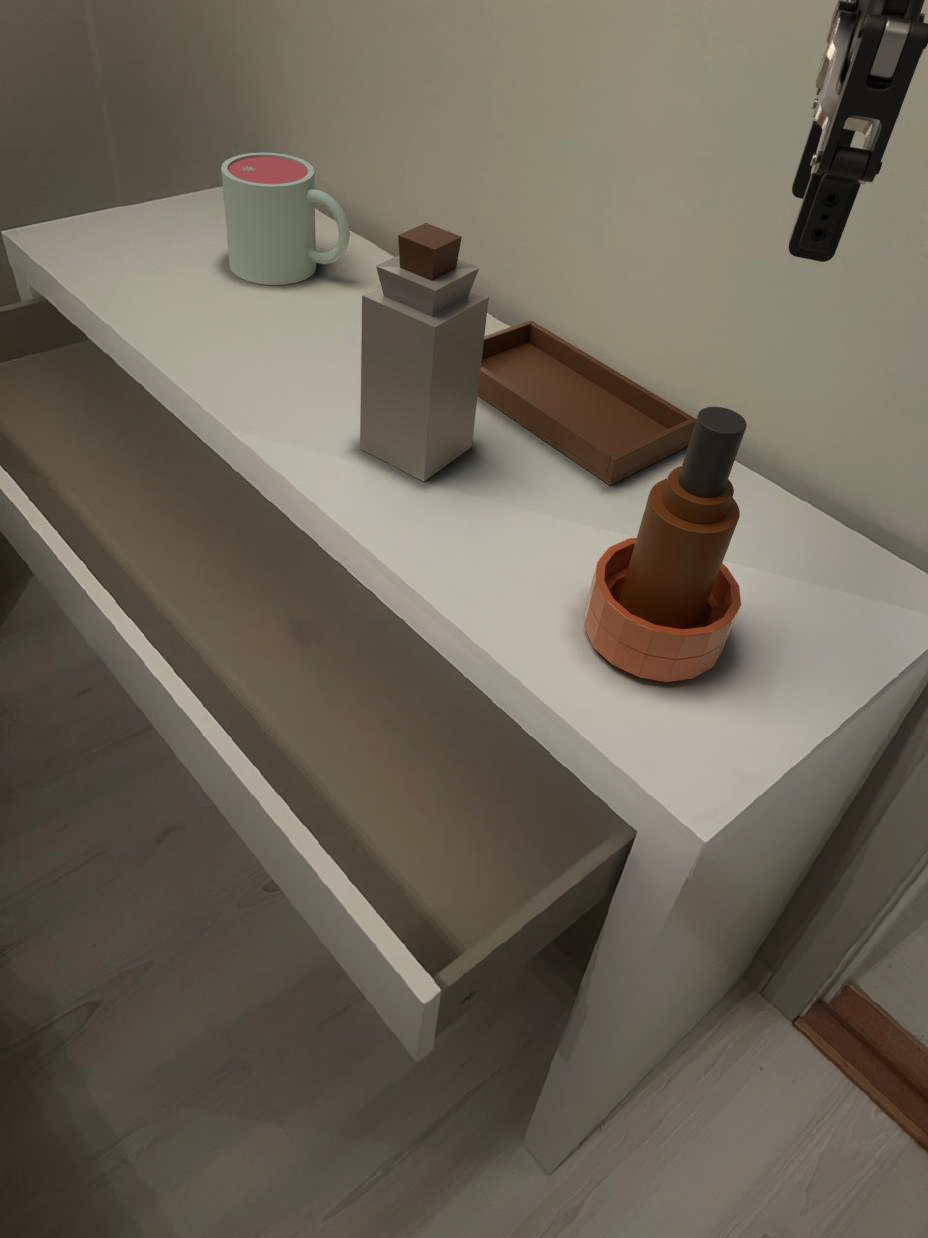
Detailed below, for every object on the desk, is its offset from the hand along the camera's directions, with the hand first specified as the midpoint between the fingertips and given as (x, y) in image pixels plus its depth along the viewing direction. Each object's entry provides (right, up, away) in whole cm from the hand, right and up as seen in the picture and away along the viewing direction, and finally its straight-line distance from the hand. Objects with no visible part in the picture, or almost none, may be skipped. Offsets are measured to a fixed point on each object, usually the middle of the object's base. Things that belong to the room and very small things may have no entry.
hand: (808, 225), depth 49 cm
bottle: (-5, -21, +16) cm, 27 cm away
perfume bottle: (-22, -6, +30) cm, 38 cm away
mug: (-37, +17, +52) cm, 66 cm away
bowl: (-5, -22, +16) cm, 28 cm away
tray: (-9, -1, +37) cm, 38 cm away
